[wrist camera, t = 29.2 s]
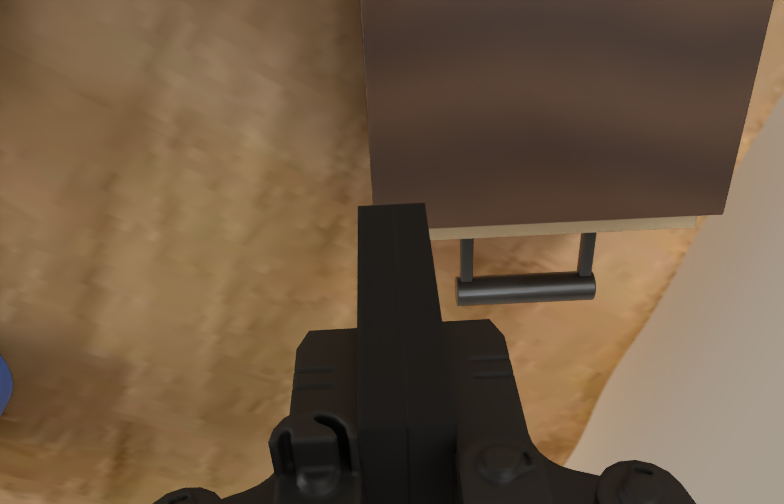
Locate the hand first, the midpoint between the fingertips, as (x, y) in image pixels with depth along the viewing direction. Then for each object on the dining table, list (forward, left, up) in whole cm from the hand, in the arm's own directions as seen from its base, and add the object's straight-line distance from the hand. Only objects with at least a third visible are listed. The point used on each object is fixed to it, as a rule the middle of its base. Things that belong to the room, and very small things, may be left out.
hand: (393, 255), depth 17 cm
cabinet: (+5, +4, -22) cm, 23 cm away
